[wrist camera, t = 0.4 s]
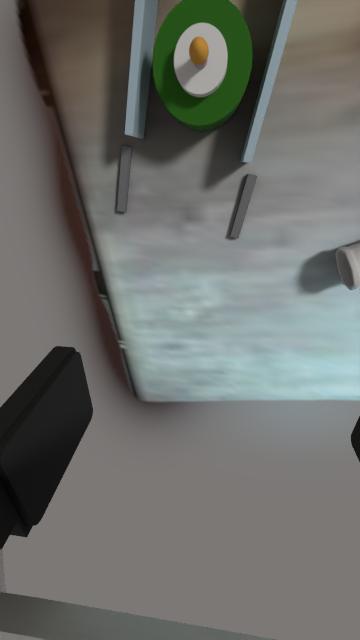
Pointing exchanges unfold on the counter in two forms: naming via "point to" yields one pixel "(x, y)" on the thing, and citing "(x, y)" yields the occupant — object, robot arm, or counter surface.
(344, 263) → the tube
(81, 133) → the counter surface
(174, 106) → the candle
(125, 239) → the counter surface
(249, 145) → the pale blue tray
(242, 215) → the strips
